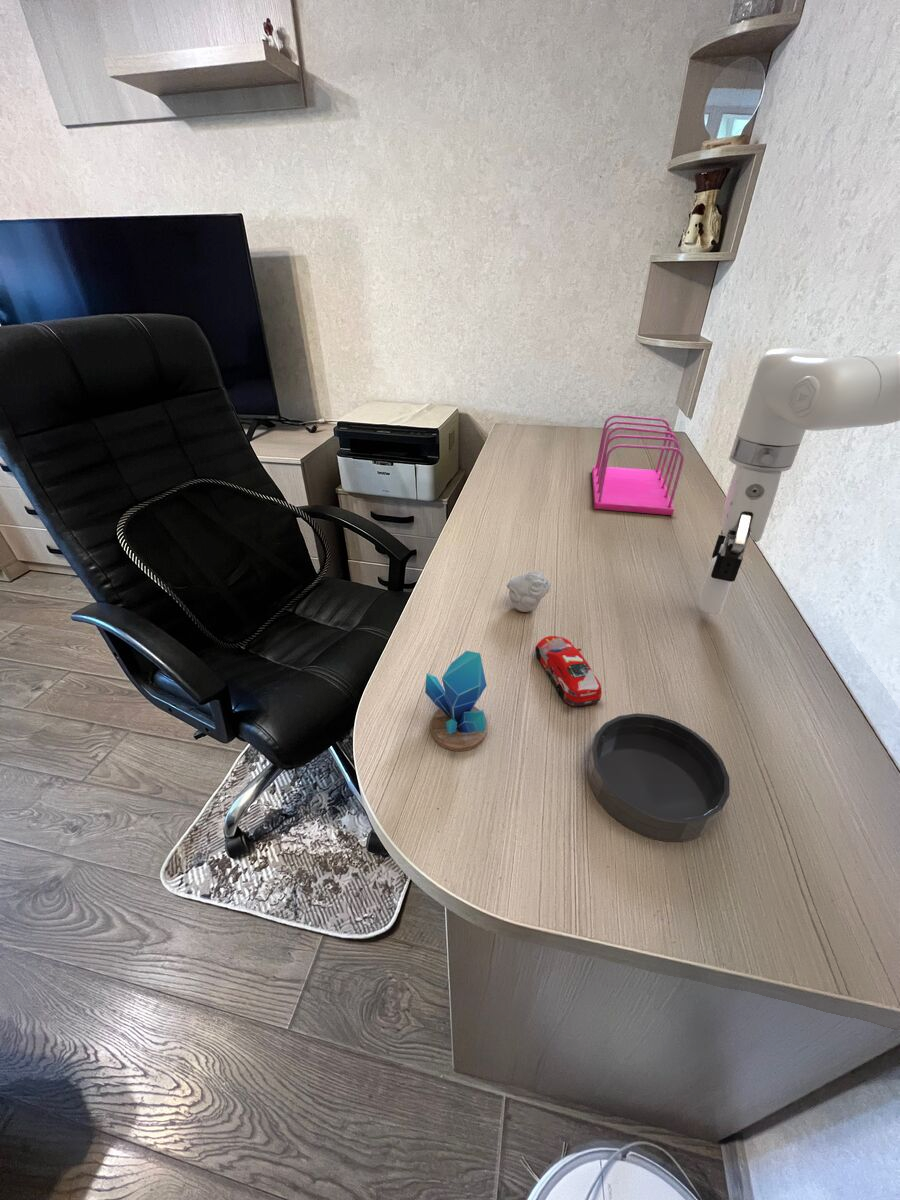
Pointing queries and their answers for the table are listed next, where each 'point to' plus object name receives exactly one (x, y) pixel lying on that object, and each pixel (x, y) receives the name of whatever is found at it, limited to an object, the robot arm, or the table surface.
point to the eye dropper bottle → (714, 590)
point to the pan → (657, 777)
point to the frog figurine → (528, 590)
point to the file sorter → (635, 474)
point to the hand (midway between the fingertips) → (722, 568)
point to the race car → (568, 671)
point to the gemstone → (458, 704)
